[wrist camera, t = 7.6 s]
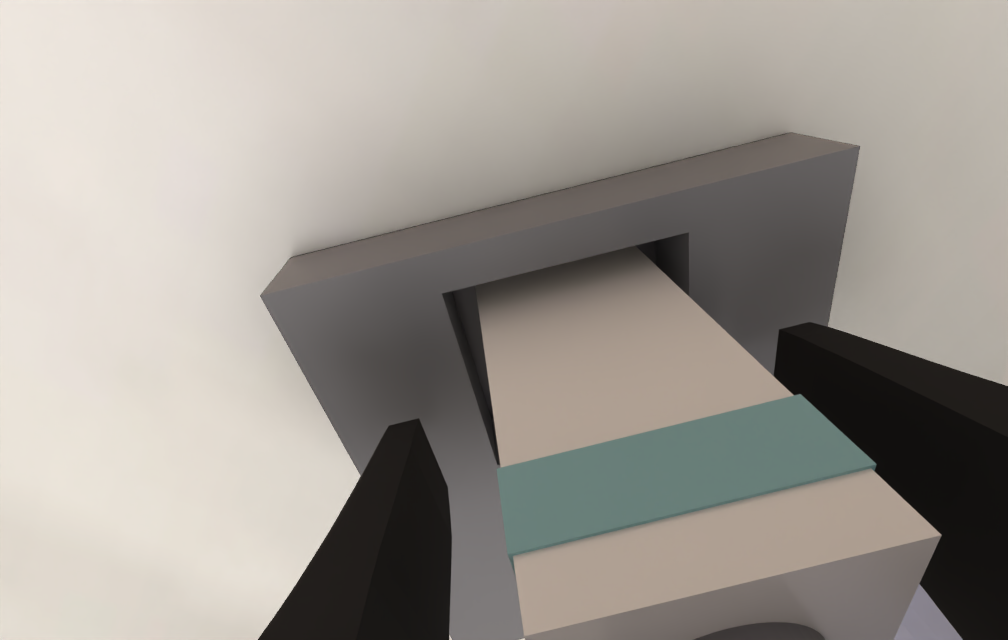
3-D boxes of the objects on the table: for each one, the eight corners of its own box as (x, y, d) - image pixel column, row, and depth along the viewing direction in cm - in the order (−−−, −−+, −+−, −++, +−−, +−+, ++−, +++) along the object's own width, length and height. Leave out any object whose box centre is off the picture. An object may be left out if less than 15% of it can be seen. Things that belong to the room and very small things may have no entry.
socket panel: (791, 132, 10) (860, 146, 9) (750, 526, 18) (782, 575, 16) (290, 257, 11) (259, 295, 9) (458, 597, 18) (460, 653, 16)
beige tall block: (633, 240, 11) (1116, 684, 3) (643, 370, 13) (948, 838, 5) (472, 280, 11) (542, 822, 3) (507, 403, 13) (602, 920, 5)
